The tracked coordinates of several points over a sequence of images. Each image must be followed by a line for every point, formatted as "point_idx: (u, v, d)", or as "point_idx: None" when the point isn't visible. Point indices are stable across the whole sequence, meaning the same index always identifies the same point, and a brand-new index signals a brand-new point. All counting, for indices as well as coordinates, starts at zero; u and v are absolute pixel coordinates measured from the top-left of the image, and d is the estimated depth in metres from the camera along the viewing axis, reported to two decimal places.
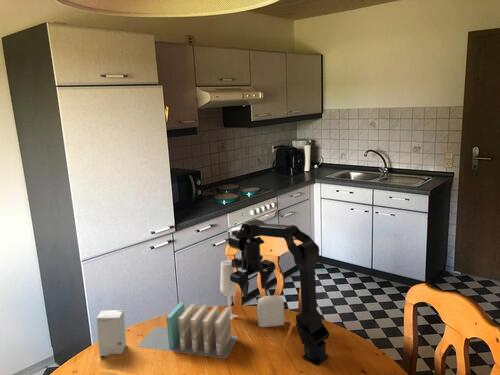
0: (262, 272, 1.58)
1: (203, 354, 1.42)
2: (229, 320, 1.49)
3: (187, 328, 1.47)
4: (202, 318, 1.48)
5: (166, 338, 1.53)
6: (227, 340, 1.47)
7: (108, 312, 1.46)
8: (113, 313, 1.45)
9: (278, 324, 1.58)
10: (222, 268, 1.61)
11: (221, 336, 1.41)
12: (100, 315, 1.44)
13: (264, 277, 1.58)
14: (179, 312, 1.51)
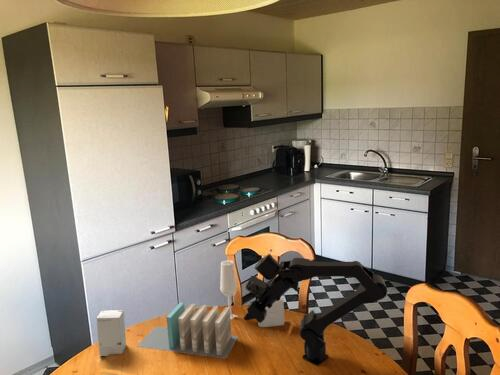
0: None
1: (203, 354, 1.42)
2: (229, 320, 1.49)
3: (187, 328, 1.47)
4: (202, 318, 1.48)
5: (166, 338, 1.53)
6: (227, 340, 1.47)
7: (108, 312, 1.46)
8: (113, 313, 1.45)
9: (278, 324, 1.58)
10: (222, 268, 1.61)
11: (221, 336, 1.41)
12: (100, 315, 1.44)
13: None
14: (179, 312, 1.51)
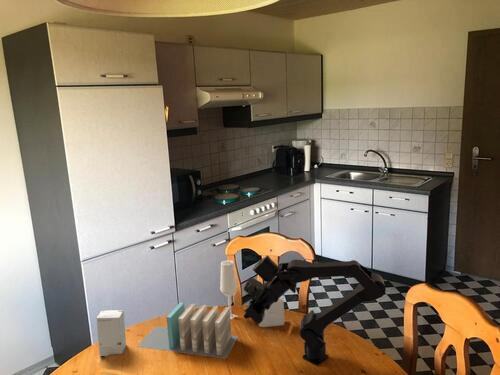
0: None
1: (203, 354, 1.42)
2: (229, 320, 1.49)
3: (187, 328, 1.47)
4: (202, 318, 1.48)
5: (166, 338, 1.53)
6: (227, 340, 1.47)
7: (108, 312, 1.46)
8: (113, 313, 1.45)
9: (278, 324, 1.58)
10: (222, 268, 1.61)
11: (221, 336, 1.41)
12: (100, 315, 1.44)
13: None
14: (179, 312, 1.51)
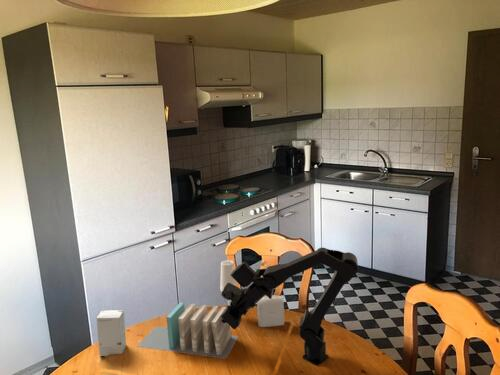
0: None
1: (203, 354, 1.42)
2: None
3: (187, 328, 1.47)
4: (202, 318, 1.48)
5: (166, 338, 1.53)
6: (227, 340, 1.47)
7: (108, 312, 1.46)
8: (113, 313, 1.45)
9: (278, 324, 1.58)
10: (222, 268, 1.61)
11: (219, 335, 1.41)
12: (100, 315, 1.44)
13: None
14: (179, 312, 1.51)
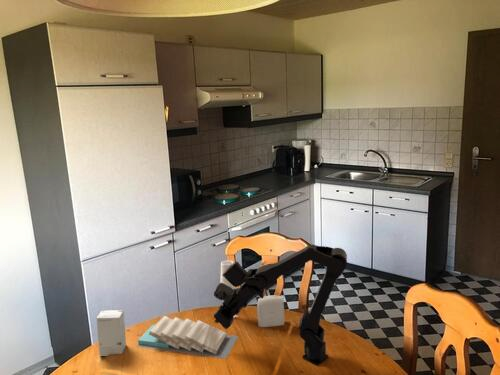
0: None
1: (203, 354, 1.42)
2: (207, 326, 1.52)
3: None
4: (176, 326, 1.52)
5: None
6: (219, 338, 1.48)
7: (108, 312, 1.46)
8: (113, 313, 1.45)
9: (278, 324, 1.58)
10: (222, 268, 1.61)
11: (200, 340, 1.44)
12: (100, 315, 1.44)
13: None
14: None
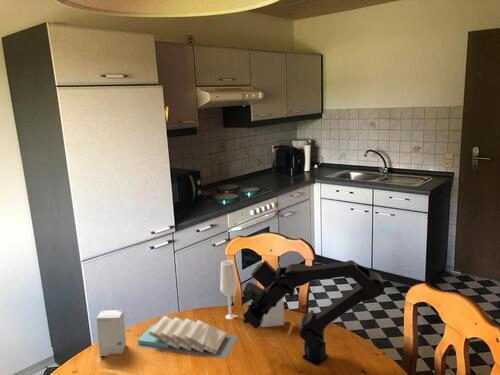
0: None
1: (203, 354, 1.42)
2: (207, 326, 1.52)
3: None
4: (176, 326, 1.52)
5: None
6: (219, 338, 1.48)
7: (108, 312, 1.46)
8: (113, 313, 1.45)
9: (278, 324, 1.58)
10: (222, 268, 1.61)
11: (200, 340, 1.44)
12: (100, 315, 1.44)
13: None
14: None
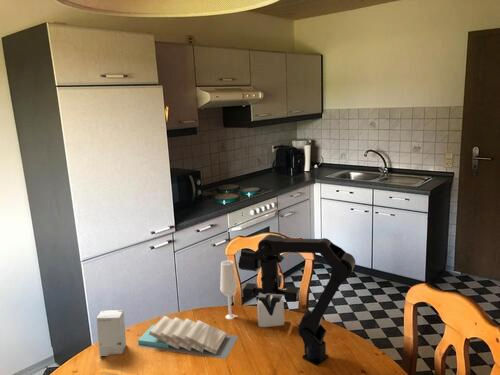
0: None
1: (203, 354, 1.42)
2: (207, 326, 1.52)
3: None
4: (176, 326, 1.52)
5: None
6: (219, 338, 1.48)
7: (108, 312, 1.46)
8: (113, 313, 1.45)
9: (278, 324, 1.58)
10: (222, 268, 1.61)
11: (200, 340, 1.44)
12: (100, 315, 1.44)
13: None
14: None
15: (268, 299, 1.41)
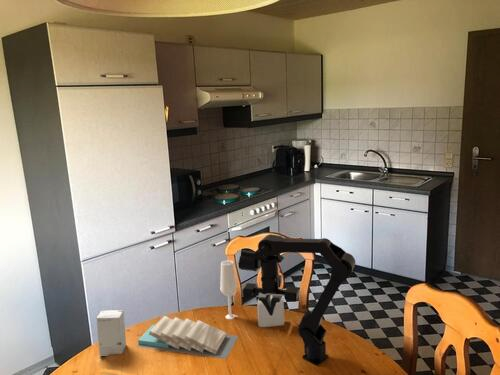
0: None
1: (203, 354, 1.42)
2: (207, 326, 1.52)
3: None
4: (176, 326, 1.52)
5: None
6: (219, 338, 1.48)
7: (108, 312, 1.46)
8: (113, 313, 1.45)
9: (278, 324, 1.58)
10: (222, 268, 1.61)
11: (200, 340, 1.44)
12: (100, 315, 1.44)
13: None
14: None
15: (268, 299, 1.41)
